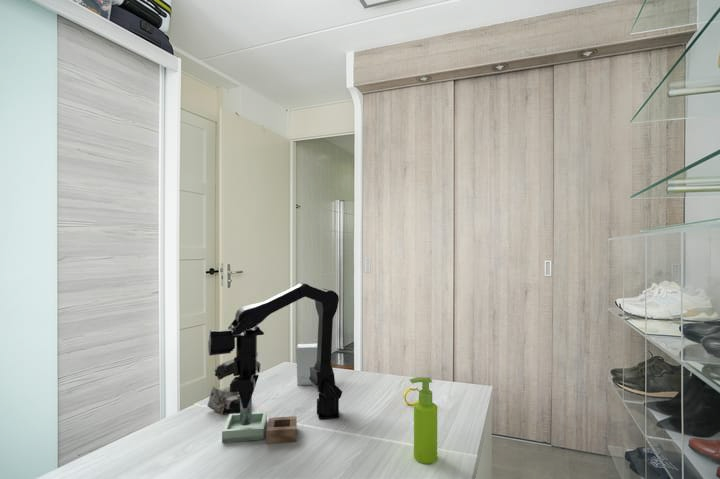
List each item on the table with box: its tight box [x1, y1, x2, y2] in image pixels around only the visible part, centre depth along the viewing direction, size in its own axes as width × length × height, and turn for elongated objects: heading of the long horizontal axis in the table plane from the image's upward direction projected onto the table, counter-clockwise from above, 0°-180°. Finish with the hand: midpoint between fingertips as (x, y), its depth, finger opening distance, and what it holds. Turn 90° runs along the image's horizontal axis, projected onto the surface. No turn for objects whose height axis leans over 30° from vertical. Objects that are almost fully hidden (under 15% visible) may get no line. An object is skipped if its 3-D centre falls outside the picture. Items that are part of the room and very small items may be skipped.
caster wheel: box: [207, 386, 240, 415], centre depth 128 cm, size 7×11×10 cm
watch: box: [403, 385, 420, 406], centre depth 132 cm, size 6×3×6 cm, turn 98°
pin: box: [238, 390, 255, 426], centre depth 112 cm, size 4×4×10 cm
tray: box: [221, 411, 268, 443], centre depth 111 cm, size 11×11×3 cm
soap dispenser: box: [409, 376, 438, 465], centre depth 98 cm, size 6×7×20 cm
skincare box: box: [295, 342, 318, 386], centre depth 152 cm, size 8×6×15 cm
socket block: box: [265, 415, 298, 445], centre depth 109 cm, size 8×8×4 cm
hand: (246, 405), depth 112 cm, fingers closed on pin, 4 cm apart
